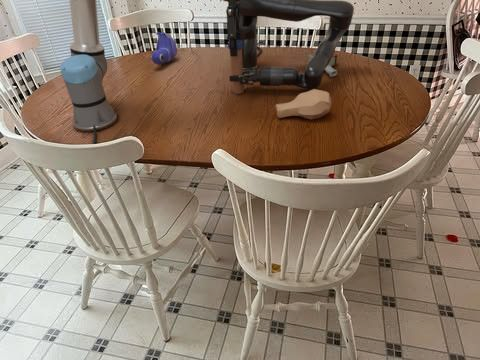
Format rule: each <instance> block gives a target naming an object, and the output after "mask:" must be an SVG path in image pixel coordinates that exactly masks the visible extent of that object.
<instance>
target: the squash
mask: <svg viewBox="0 0 480 360" xmlns="http://www.w3.org/2000/svg"><path fill="white" fill-rule="evenodd" d="M331 107H332V98H331V94H330V92H328V91H326V90H321V89H317V88H315V89H309V90H308V91H305V92H301V93H299V94H298V95H297V96H296V97H295V98H294V99H293V100H292V101H289V102H288V101H287V102H283V103H276V104H275V106H274V110H275V111H276V116H277V118H278V119H283V118H286V117H301V118H304V119H308V120H316V119H321V118H322V117H324V116H326V115H328V114H330V111H331Z"/></svg>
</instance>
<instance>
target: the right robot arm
mask: <svg viewBox="0 0 480 360" xmlns="http://www.w3.org/2000/svg"><path fill="white" fill-rule="evenodd" d="M238 2H240V18H241V29H242V32H239V33H241V40H242V41H243V48H242V66H243V75H240V76H232V75H229V82H232V81H238V82H240V84H243V85H246V86H254V85H255V84H254V83H259V85H260V86H261V87H280V86H294V87H297V88H302V89H307V90H313V89H317V88H319V87H320V86H321V85H322V81H323V75H324V71H325V70H324V69H325V68H326V67H327V66H328V64H329V62H330V60H331V58H332V56H333V53H334V52H335V51H336V50H337V46H338V44H339V43H340V41H341V39H342V38H343V36H344V35H345V33H346V32H347V31H348V29H349V28H350V26H351V24H352V21H353V17H354V14H355V13H354V11H355V7H354V5H353V3H351V2H349V1H346V0H240V1H238ZM318 16H320V17H321V16H322V17H329V18H328V19H329V21H328V22H329V24H328V28H327V32H326V34H325V36H324V38H323V39H322V40H321V41H320V42H319V44H318V46H317V47H316V49H315V52H314V54H313V55H314V56H313V58H312V59H311V60H310V62H309V61H308V63H307V65H306V67H305V68H304V73H302V72H299V70H298V69H299V68H297V67H293V66H290V67H289V66H284V67H283V66H260V68H259V70H258V57H259V55H260V54H261V53H262V52H263V49H262V48H260V47H259V46H258V45H259V44H264V42H263V41H258V37H257V34H258V33H257V25H258V17H264V18H269V19H273V20H274V19H275V20H280V21H285V22H286V21H287V22H295V23H297V22H302V21H305V20H308V19H311V18H313V17H318ZM258 50H260V51H259V52H258Z"/></svg>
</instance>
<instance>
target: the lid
mask: <svg viewBox="0 0 480 360" xmlns="http://www.w3.org/2000/svg"><path fill="white" fill-rule="evenodd" d="M227 48H228V50H230V45H229V40H228V41H227ZM242 48H243V41H242V40H237V50H239V49H242Z"/></svg>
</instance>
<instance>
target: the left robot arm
mask: <svg viewBox="0 0 480 360" xmlns="http://www.w3.org/2000/svg"><path fill="white" fill-rule="evenodd" d="M222 1H223V2H227V6H226V9H225V12H226V29H227V30H226V31H227V36H226V40H228V41H229V45H230V49H229V57H230V56H237V40H241V33H239V32H242V29H241V18H240V2H238V1H240V0H222ZM69 7H70V17H71V26H72V35H73V42H72V43H71V44H70V45H69V49H70V56H69V57H68V58H65V59H63V61H61V63H60V65H59V69H60V75H61V77H62V79H63V82H64V84H65V87H66V90H67V93H68V96H69V99H70V101H71V104H72V108H73V114H72V117H73V118H72V119H73V125H74V128H75V129H76V131H78V132H84V133H92V132H93V141H92V142H93V144H94V145H96V144H97V132H99V131H102V130H105V129H107V128H110V127H111V126H113V125H115V124H116V122H117V121H118V116H117V113H118V111H117V110H114V108H113V107H112V105H111V103H110V102H109V101H108V99H107V96H106V92H105V89H104V87H103V86H104V85H103V80H104V77H105V75H106V74H107V71H108V61H107V58H106V54H105V46H104V45H102V44H101V43H100V31H99V19H98V3H97V0H69Z"/></svg>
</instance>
